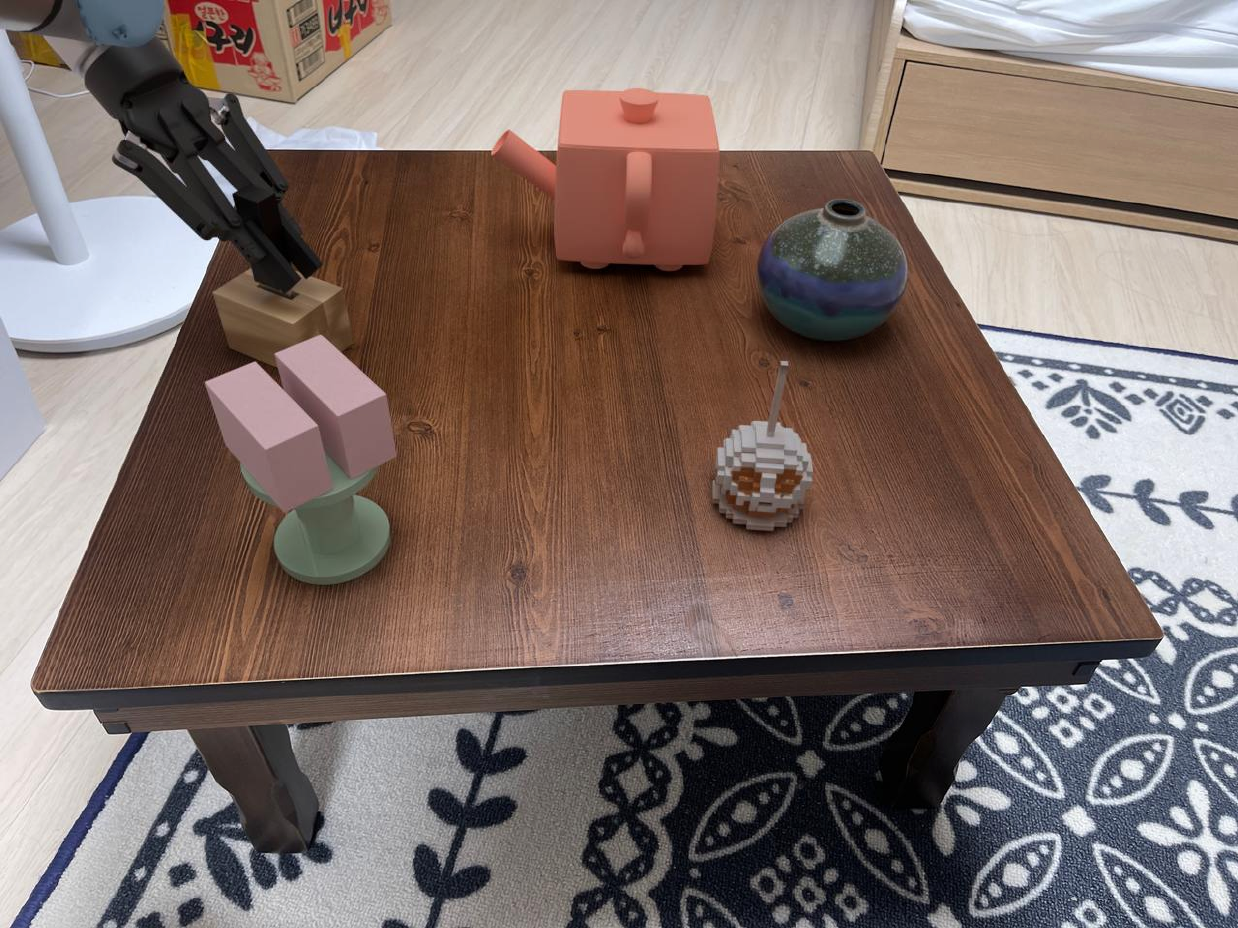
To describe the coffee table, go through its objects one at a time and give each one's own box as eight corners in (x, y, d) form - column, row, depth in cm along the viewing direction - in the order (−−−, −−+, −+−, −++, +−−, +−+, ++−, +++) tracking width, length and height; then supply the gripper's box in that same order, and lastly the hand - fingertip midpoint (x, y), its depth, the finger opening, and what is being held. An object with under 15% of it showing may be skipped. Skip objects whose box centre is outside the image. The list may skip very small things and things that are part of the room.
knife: (294, 348, 92) (259, 203, 81) (267, 337, 93) (229, 192, 82) (310, 337, 93) (277, 193, 83) (282, 326, 95) (247, 183, 84)
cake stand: (308, 611, 70) (281, 521, 64) (247, 535, 76) (216, 444, 69) (421, 547, 76) (406, 457, 69) (356, 480, 81) (337, 390, 74)
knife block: (306, 380, 90) (292, 323, 86) (228, 348, 93) (211, 292, 89) (353, 343, 95) (343, 288, 90) (278, 314, 98) (264, 259, 93)
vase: (903, 367, 96) (939, 253, 86) (753, 358, 96) (773, 243, 87) (880, 285, 107) (910, 176, 98) (746, 277, 107) (763, 167, 98)
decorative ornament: (712, 531, 78) (735, 392, 68) (710, 467, 84) (731, 330, 73) (805, 537, 78) (842, 399, 68) (797, 473, 84) (830, 336, 73)
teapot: (487, 291, 103) (476, 134, 90) (503, 193, 119) (496, 49, 107) (713, 298, 104) (733, 143, 91) (698, 199, 120) (714, 57, 108)
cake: (284, 513, 64) (265, 449, 60) (225, 445, 69) (203, 381, 65) (397, 456, 69) (386, 393, 65) (334, 396, 73) (321, 333, 69)
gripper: (173, 55, 88) (340, 259, 94) (30, 110, 78) (228, 335, 84) (200, 6, 83) (375, 226, 89) (50, 59, 73) (259, 302, 79)
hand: (303, 278), depth 87 cm, fingers closed on knife, 2 cm apart
